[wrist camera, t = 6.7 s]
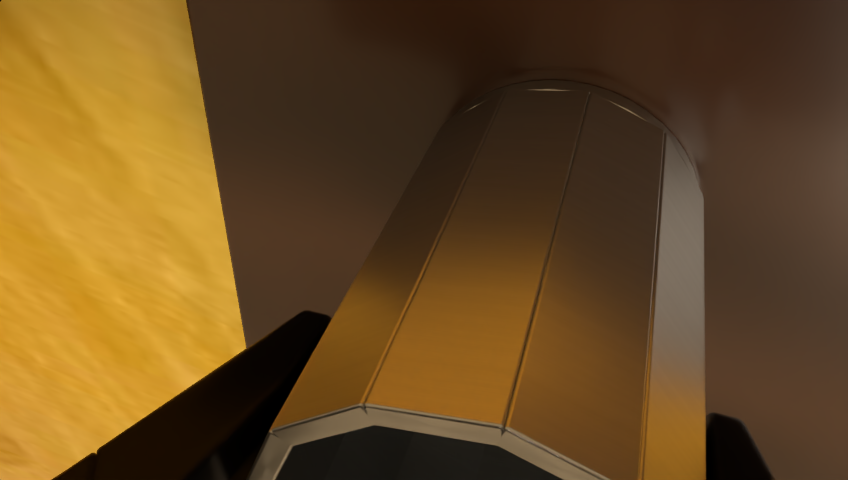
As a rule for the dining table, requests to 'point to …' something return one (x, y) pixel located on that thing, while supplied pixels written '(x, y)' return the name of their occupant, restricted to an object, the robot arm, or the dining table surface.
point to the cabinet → (567, 61)
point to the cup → (518, 309)
